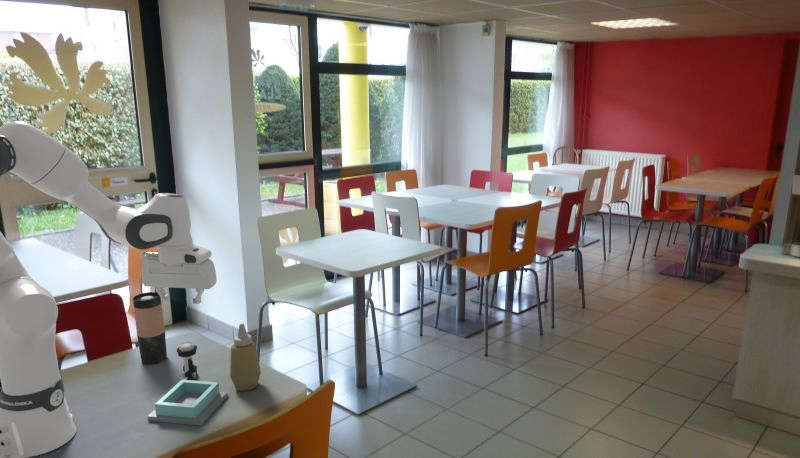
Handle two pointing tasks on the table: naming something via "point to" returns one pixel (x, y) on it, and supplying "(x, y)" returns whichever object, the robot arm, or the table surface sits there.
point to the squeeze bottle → (244, 361)
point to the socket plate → (188, 403)
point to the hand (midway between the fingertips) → (181, 302)
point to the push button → (188, 360)
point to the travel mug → (150, 327)
